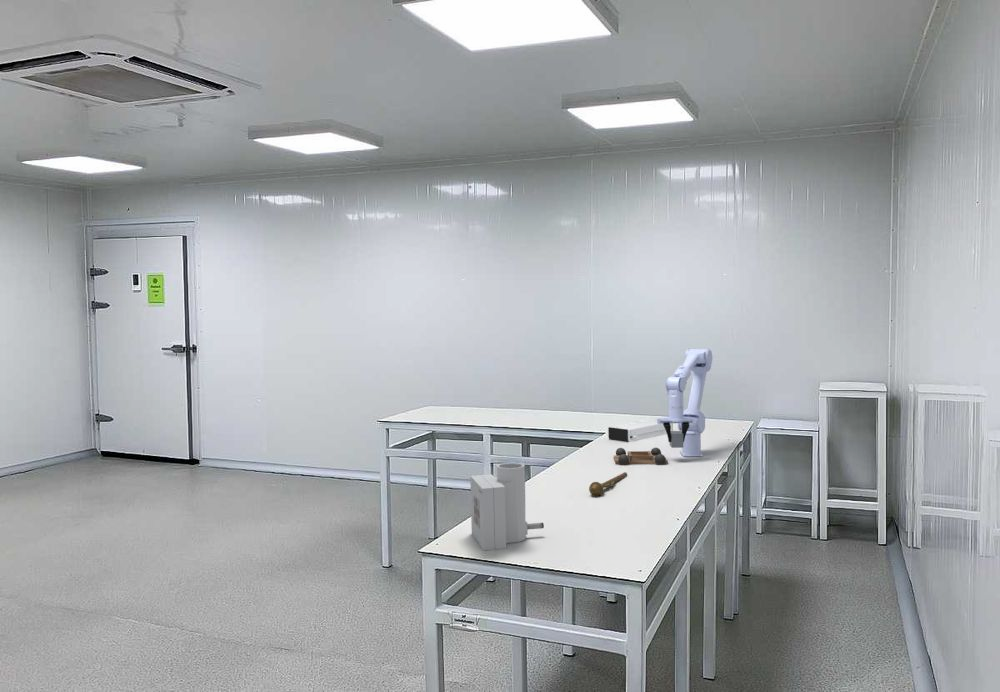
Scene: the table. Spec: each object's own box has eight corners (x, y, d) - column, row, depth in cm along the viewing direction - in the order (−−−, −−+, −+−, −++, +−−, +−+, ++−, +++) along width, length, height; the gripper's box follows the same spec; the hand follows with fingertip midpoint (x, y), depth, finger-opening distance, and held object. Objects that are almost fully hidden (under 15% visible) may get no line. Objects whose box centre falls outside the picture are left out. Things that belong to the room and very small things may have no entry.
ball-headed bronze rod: (618, 479, 298) (630, 481, 296) (585, 496, 267) (599, 499, 265) (619, 467, 298) (632, 468, 296) (586, 482, 267) (600, 484, 264)
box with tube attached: (470, 533, 227) (469, 462, 226) (535, 528, 232) (533, 458, 230) (482, 550, 212) (481, 474, 210) (551, 544, 216) (550, 469, 215)
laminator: (653, 431, 397) (653, 418, 396) (674, 434, 388) (674, 421, 387) (608, 440, 374) (608, 427, 373) (629, 443, 365) (629, 429, 364)
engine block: (669, 444, 323) (669, 431, 323) (681, 444, 323) (680, 430, 323) (671, 447, 317) (671, 433, 317) (683, 447, 317) (683, 433, 317)
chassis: (613, 457, 331) (613, 447, 331) (663, 457, 330) (663, 447, 329) (616, 465, 316) (615, 455, 316) (668, 464, 314) (668, 454, 314)
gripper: (658, 408, 316) (658, 443, 317) (696, 408, 315) (696, 443, 316) (656, 406, 323) (656, 440, 324) (693, 405, 322) (693, 440, 323)
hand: (676, 441), depth 320 cm, fingers closed on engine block, 4 cm apart
